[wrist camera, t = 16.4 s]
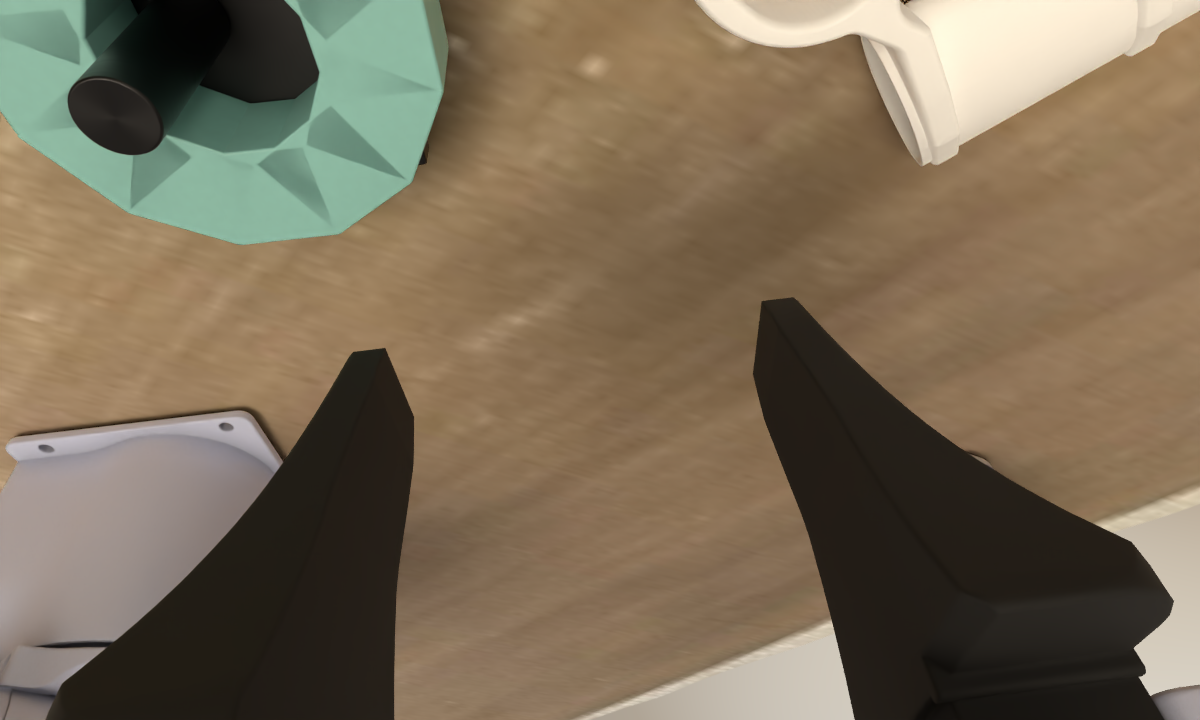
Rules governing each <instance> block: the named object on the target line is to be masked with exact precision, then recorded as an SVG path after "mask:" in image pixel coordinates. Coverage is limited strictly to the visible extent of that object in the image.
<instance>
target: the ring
mask: <svg viewBox="0 0 1200 720" xmlns="http://www.w3.org/2000/svg"><path fill="white" fill-rule="evenodd" d="M284 1H285V2H286V3H287V4H288V5H289V6H290V7H291V8H292V9H293V10H294V11H295V12H296V13H297V14H298V15H299V16H300V18H301V21H302V24H303V27H304V30H305V32H306V35H307V38H308V41H309V44H310V47H311V50H312V52H313V55H314V58H315V61H316V64H317V67H318V70H319V77H318V80H317V81H316V82H315V83H314V84H312V85H311V86H310V87H309V88H308V89H306V90H305V91H304V92H303V93H302V94H300V95H299V96H298V97H297V98H296V99H290V100H280V101H270V102H261V103H251V104H250V103H247V102H245V101H242V100H239V99H236V98H233V97H231V96H228V95H225V94H222V93H219V92H217V91H214V90H211V89H208V88H205V87H203V86H200V85H199V86H198V87H197V89H196V90H195V92H194V93H193V95H192V96H191V98H190V99H189V101H188V102H187V104H186V106H185V107H184V109H183V110H182V112H181V113H180V115H179V116H178V118H177V119H176V121H175V122H174V124H173V125H172V127H171V128H170V130H169V131H168V133H167V134H166V136H165V137H164V139H163V141H162V142H161V144H160V145H159V146H158V147H157V148H156V149H154V150H153V151H151V152H149V153H146V154H141V155H124V154H119V153H115V152H113V151H110V150H107V149H105V148H103V147H101V146H99V145H98V144H96V143H95V142H93V141H92V140H91V139H89V138H88V137H87V136H86V135H85V134H84V133H83V132H82V131H81V130H80V129H79V128H78V127H77V125H76V124H75V122H74V121H73V119H72V117H71V115H70V112H69V109H68V101H67V100H68V93H69V90H70V88H71V87H72V86H73V84H74V83H75V82H76V81H77V80H78V79H79V78H80V77H81V76H82V75H83V74H84V72H85V71H86V70H87V69H88V68H89V67H90V66H91V65H92V64H93V63H94V62H95V61H96V60H97V59H98V58H99V56H100V55H101V54H102V53H103V52H104V51H105V50H106V49H107V48H108V47H109V46H110V45H111V44H112V43H113V41H114V40H115V39H116V38H117V37H118V36H119V35H120V34H121V33H122V32H123V31H124V30H125V29H126V28H127V27H128V25H129V24H130V23H131V22H132V21H133V20H134V19H135V18H136V17H137V16H138V13H137V11H136V9H135V8H134V6H133V4H132V2H131V0H0V111H1V113H2V114H3V116H4V117H5V118H6V120H7V121H8V123H9V124H10V125H11V127H12V128H13V130H14V131H15V132H16V133H17V134H18V137H19V138H20V139H22V140H23V141H25V142H26V143H28V144H29V145H31V146H32V147H33V148H35V149H36V150H38V151H39V152H41V153H42V154H44V155H45V156H46V157H48V158H49V159H51V160H52V161H54V162H55V163H57V164H58V165H59V166H61V167H62V168H64V169H65V170H67V171H68V172H70V173H71V174H72V175H74V176H75V177H77V178H78V179H80V180H81V181H83V182H84V183H85V184H87V185H88V186H90V187H91V188H93V189H94V190H96V191H97V192H98V193H100V194H101V195H103V196H104V197H106V198H107V199H109V200H110V201H111V202H113V203H114V204H116V205H117V206H119V207H120V208H122V209H123V210H124V211H126V212H128V213H130V214H133V215H136V216H140V217H143V218H147V219H150V220H154V221H157V222H161V223H164V224H168V225H171V226H175V227H178V228H182V229H186V230H189V231H193V232H196V233H200V234H203V235H207V236H210V237H214V238H217V239H221V240H224V241H228V242H231V243H235V244H238V245H246V244H255V243H264V242H273V241H283V240H292V239H301V238H310V237H319V236H328V235H337V234H341V233H342V232H343V231H345V230H346V229H348V228H349V227H350V226H352V225H353V224H355V223H356V222H357V221H359V220H360V219H362V218H363V217H364V216H366V215H367V214H369V213H370V212H371V211H373V210H374V209H376V208H377V207H378V206H380V205H381V204H383V203H384V202H385V201H387V200H388V199H390V198H391V197H392V196H394V195H395V194H397V193H398V192H399V191H401V190H402V189H404V188H405V187H406V186H408V185H409V184H411V182H412V181H413V179H414V176H415V173H416V170H417V167H418V164H419V161H420V159H421V156H422V153H423V150H424V147H425V144H426V141H427V139H428V136H429V133H430V130H431V127H432V124H433V121H434V119H435V116H436V113H437V110H438V107H439V104H440V101H441V99H442V96H443V93H444V84H445V75H446V67H447V58H448V49H449V47H448V40H447V35H446V30H445V26H444V21H443V16H442V12H441V7H440V2H439V0H284Z"/></svg>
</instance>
